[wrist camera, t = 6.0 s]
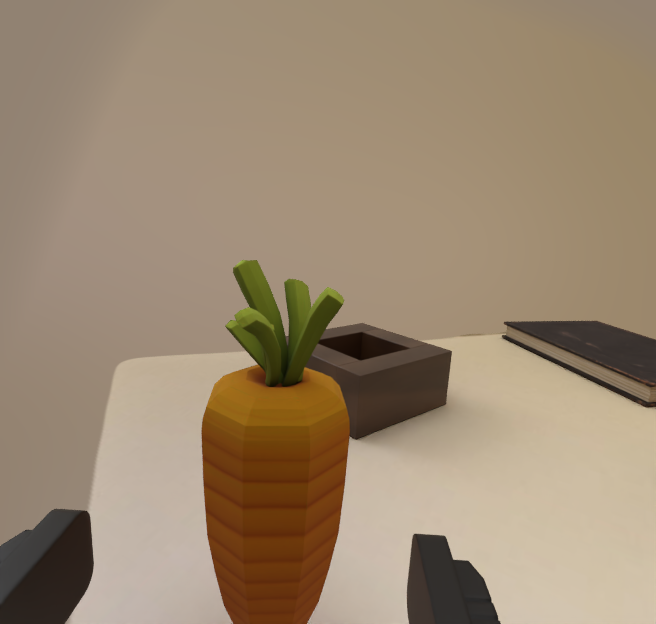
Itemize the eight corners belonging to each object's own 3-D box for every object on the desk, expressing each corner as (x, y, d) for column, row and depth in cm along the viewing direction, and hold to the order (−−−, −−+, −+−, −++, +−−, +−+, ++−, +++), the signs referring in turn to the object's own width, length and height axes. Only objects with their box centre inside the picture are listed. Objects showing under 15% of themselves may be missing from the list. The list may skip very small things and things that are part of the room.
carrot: (360, 688, 17) (395, 274, 13) (223, 760, 14) (224, 278, 11) (301, 588, 21) (317, 254, 17) (188, 630, 18) (182, 254, 15)
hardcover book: (646, 407, 43) (651, 384, 43) (501, 337, 65) (504, 321, 64) (773, 398, 47) (779, 377, 46) (597, 335, 69) (599, 320, 68)
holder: (272, 390, 43) (273, 338, 42) (359, 367, 50) (362, 322, 49) (355, 439, 34) (360, 376, 33) (446, 404, 42) (452, 351, 40)
